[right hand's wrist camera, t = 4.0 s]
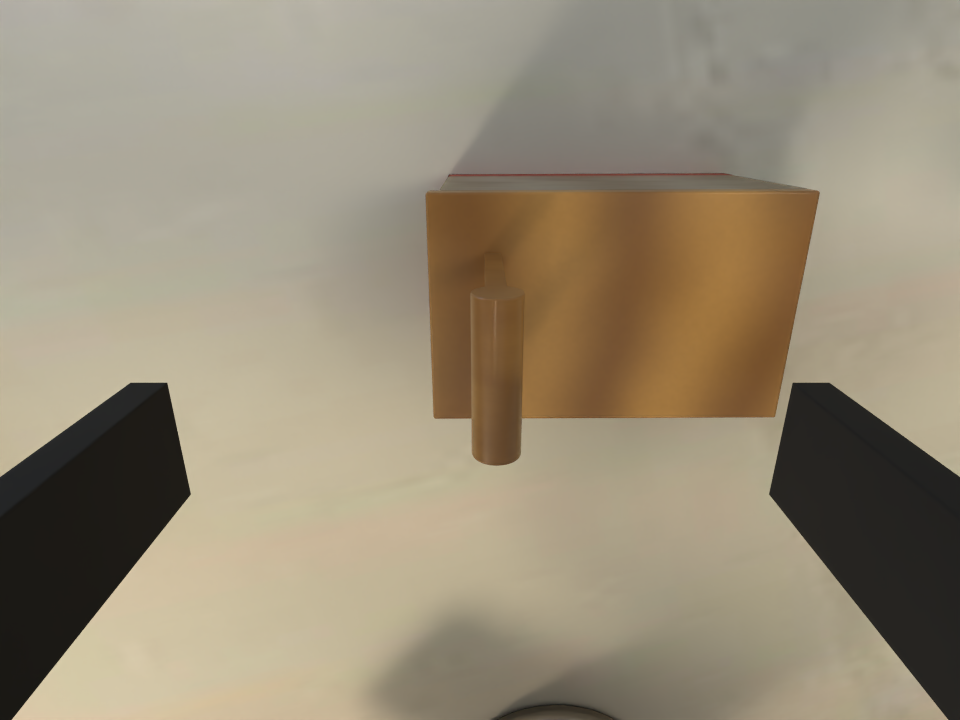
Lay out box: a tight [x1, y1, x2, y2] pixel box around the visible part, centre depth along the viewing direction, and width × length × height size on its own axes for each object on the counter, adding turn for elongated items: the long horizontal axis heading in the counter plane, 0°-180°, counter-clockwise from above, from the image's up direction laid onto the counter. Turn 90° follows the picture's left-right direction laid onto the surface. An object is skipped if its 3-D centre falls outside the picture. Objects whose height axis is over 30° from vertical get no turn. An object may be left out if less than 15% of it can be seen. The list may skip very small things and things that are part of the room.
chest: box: [440, 173, 806, 191], centre depth 30 cm, size 15×10×9 cm, turn 90°
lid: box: [426, 189, 820, 465], centre depth 22 cm, size 16×10×8 cm, turn 90°
